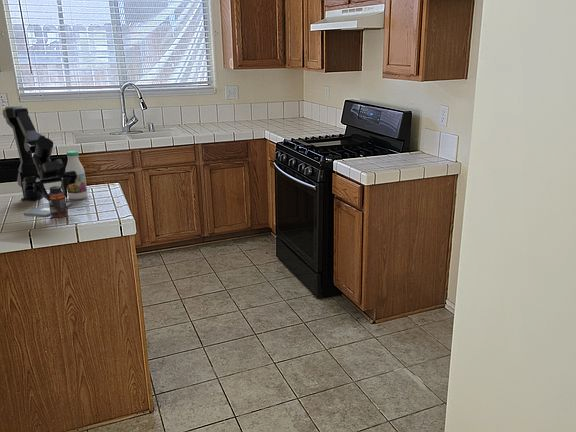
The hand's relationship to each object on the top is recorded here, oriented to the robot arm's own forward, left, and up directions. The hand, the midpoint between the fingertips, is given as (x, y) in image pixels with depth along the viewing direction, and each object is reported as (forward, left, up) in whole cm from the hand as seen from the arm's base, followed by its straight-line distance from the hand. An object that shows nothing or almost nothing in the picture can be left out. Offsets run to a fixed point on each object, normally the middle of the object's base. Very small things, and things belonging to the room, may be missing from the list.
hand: (58, 198), depth 192 cm
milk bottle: (-10, +26, -7) cm, 29 cm away
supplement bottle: (-1, +1, -7) cm, 7 cm away
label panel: (-10, +7, -7) cm, 14 cm away
